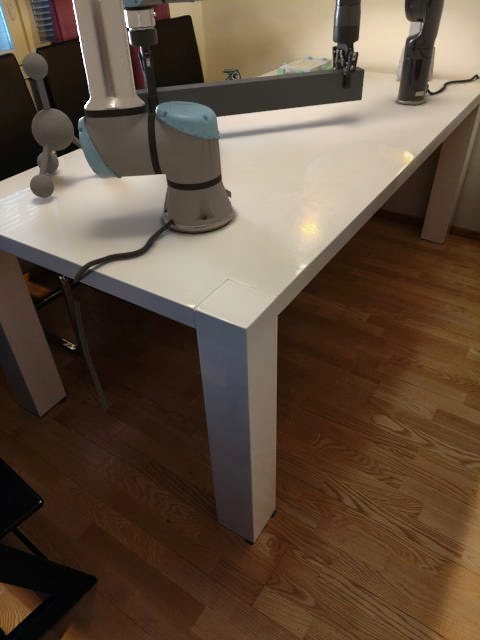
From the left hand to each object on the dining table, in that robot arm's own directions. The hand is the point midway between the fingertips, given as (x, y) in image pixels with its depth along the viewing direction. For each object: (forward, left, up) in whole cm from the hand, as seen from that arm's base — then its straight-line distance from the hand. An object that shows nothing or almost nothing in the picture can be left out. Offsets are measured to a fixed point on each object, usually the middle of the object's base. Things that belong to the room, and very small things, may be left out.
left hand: (155, 119), depth 144 cm
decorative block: (+92, -10, -8) cm, 93 cm away
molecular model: (-32, +4, -8) cm, 33 cm away
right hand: (+39, -44, +3) cm, 59 cm away
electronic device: (+102, -53, -8) cm, 116 cm away
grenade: (+54, +4, -8) cm, 55 cm away
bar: (+20, -22, -1) cm, 29 cm away
